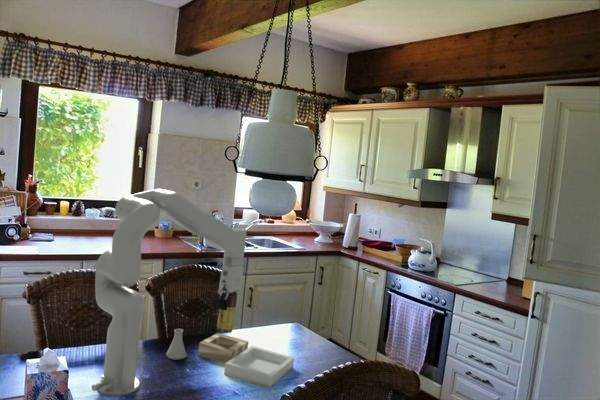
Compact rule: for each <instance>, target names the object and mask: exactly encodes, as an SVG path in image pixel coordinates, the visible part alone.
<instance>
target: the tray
mask: <svg viewBox="0 0 600 400" xmlns="http://www.w3.org/2000/svg"><path fill="white" fill-rule="evenodd" d="M294 363H295V357H292V356H289V355H286V354H282V353H279V352H275V351H272V350H269V349H264V348H261V347H257V346H254V345H251V346H250V347H249V346H248V349H246V350H245V351H243V352H242V353H240V354H239V355H237V356H236V357H234V358H232V359H231V360H229V361H228V362H226V363H225V365H224V375H227V376H229V377H232V378H235V379H239V380H242V381H245V382H248V383H252V384H255V385H258V386H261V387H264V388H267V389H271V388H272V387H274V386H275V385H276V384H277V383H278V382H279V381H281V379H282V378H284V377H285V376H286V375H287V374H289V373H290V371H291V370H293V369H294Z"/></svg>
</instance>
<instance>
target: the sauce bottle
mask: <svg viewBox="0 0 600 400" xmlns="http://www.w3.org/2000/svg"><path fill="white" fill-rule="evenodd" d="M224 291H226V289H225V290H224ZM224 294H225V295H226V293H224ZM227 300H228V304H227V310H222V309H219V308H218V316H217V321H216V322H217V323H216V331H218V333H220V334H230V333H232V331H233V329H234V325H235V324H234V323H235V316H236V311H237V310H236V309H237V302H236V301H238V297H237V298H236V295H235V292H232V293H229V294H228V298H227Z"/></svg>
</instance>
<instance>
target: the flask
mask: <svg viewBox="0 0 600 400" xmlns="http://www.w3.org/2000/svg"><path fill="white" fill-rule="evenodd" d="M173 332H174V334H173V335H174V336H173V339H172V341H171V344H170V345H169V348H168V349H167V352H166V353H165V356H166V357H167V358H168V359H171V360H174V361H175V360H183V359H185V358H186V357H187V356H188V355H187V351H186V349H185V345H184V342H183V341H184V340H183V333H184V329H182V328H176V329H174V330H173Z"/></svg>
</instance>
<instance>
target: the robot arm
mask: <svg viewBox="0 0 600 400" xmlns="http://www.w3.org/2000/svg"><path fill="white" fill-rule="evenodd" d="M114 210H115V215H116V217H117V218H118V219H119V220H120V221H122V222H121V223H120V224H119V225H118V226H117V227H116V229H115V231H114V233H113V235H112V240H111V249H108V250H106V251H104V252H103V253H101V255H100V256H99V257H98V258H97V261H96V264H95V270H94V271H95V276H94V277H95V278H94V279H95V281H94V282H95V283H94V284H95V285H94V286H95V289H94V290H95V293H94V294H95V301H96V304H97V306H98V307H99V309H102V310H103V311H105V312H106V313H107V314H109V315H111V317H112V319H111V322H110V324H109V325H108V327H107V333H106V343H105V344H106V346H105V353H104V354H105V356H104V367H103V375H100V376H101V378H100V379H99V380H98V381H97V382H96V383H93V384H92V385H91V389H92V392H96V391H99V392H100V393H102V394H104V395H106V396H115V397H116V396H119V397H120V396H126V395H130V394H131V393H135V392H136V391H137V390H138V389H139V388H140V384H141V383H140V380H139V379H138V378H137V377H136V371H137V370H136V369H137V361H138V350H139V339H140V331H141V324H142V323H141V322H142V319H143V317H144V313H145V307H146V302H145V300H144V297H143V296H142V295H141V294H140V293H139V292H138V291H136V290H135V289H132V288H130V287H132V286H135V285H136V284H137V283H139V280H140V278H141V273H142V241H143V239H144V236H145V234H146V233H147V232H148V231H149V230H150V229H151V228H153V226H155V224H156V223H157V222H158V221H159V219H160V216H161V215H162V216H165V217H166V218H168V219H170V220H171V221H173V222H175V223H176V224H178V225H179V226H180V227H182V228H183V229H185V230H186V231H188V232H189V233H191V234H194V235H196V236H199V237H202V238H204V239H205V243H206V244H207V245H208V246H209V247H211V248H214V249H216V250H221V251H224V253H223V260H222V268H221V272H220V277H219V284H218V285H219V286H218V290H217V293H218V297H219V303H218V310H219V309H222V310H227V304H228V300H227V298H228V294H229V293H232V292H235V295H236V298H237V299H238V296H239V291H240V290H241V289H242V287H243V281H244V279H243V277H244V267H243V266H244V265H243V264H244V256H245V250H246V249H245V248H246V241H247V231H246V230H245V229H243V228H236V227H235V228H234V227H231V226H229V225H227V224H226V223H225V222H223V221H222V220H219V219H217V218H216V217H214V216H212V215H210V213H208V212H205V211H204V210H202V209H201V208H199V207H198V206H197V205H195V203H193V202H191V201H190V200H189V199H188V198H186V197H185V196H184V195H182V194H180V193H179V192H176V191H173V190H167V189H164V188H155V189H151V190H146V191H141V192H137V193H134V194H128V195H125V196H122V197H121V198H120V199H119V200H118V201H117V202H116V204H115V209H114ZM225 289H226V291H225ZM224 293H226V295H225V294H224ZM237 301H238V300H237ZM237 301H236V303H237Z"/></svg>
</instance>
